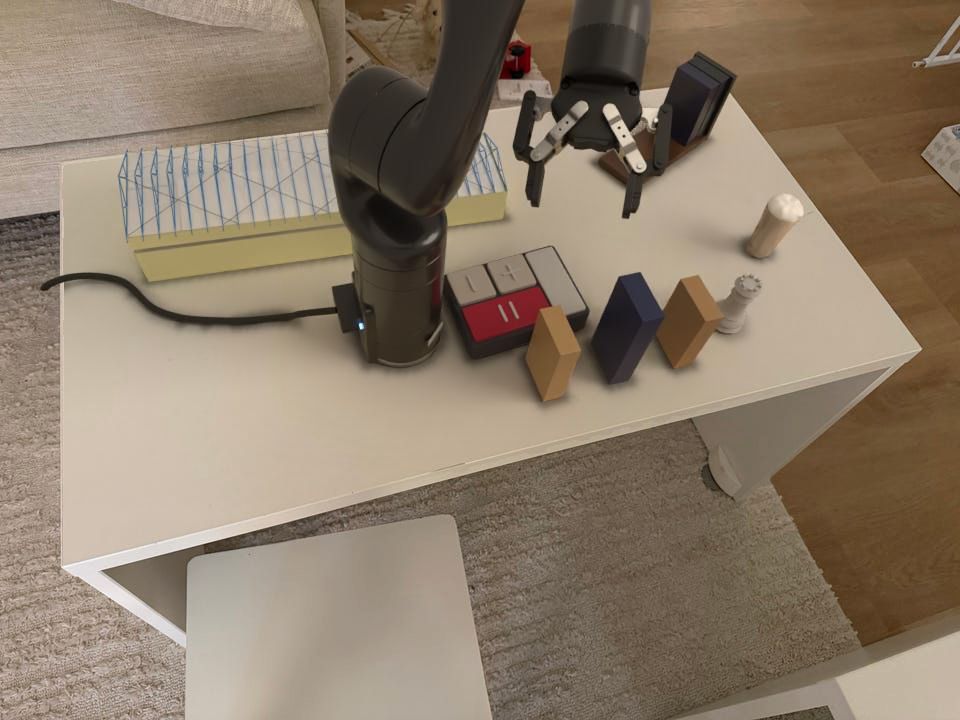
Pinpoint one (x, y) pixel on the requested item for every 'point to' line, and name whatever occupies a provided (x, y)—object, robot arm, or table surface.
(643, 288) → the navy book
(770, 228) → the milkshake
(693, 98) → the bookend
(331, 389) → the table surface
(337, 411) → the table surface
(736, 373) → the table surface
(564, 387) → the tan blocks
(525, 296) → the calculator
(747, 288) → the rook chess piece
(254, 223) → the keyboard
